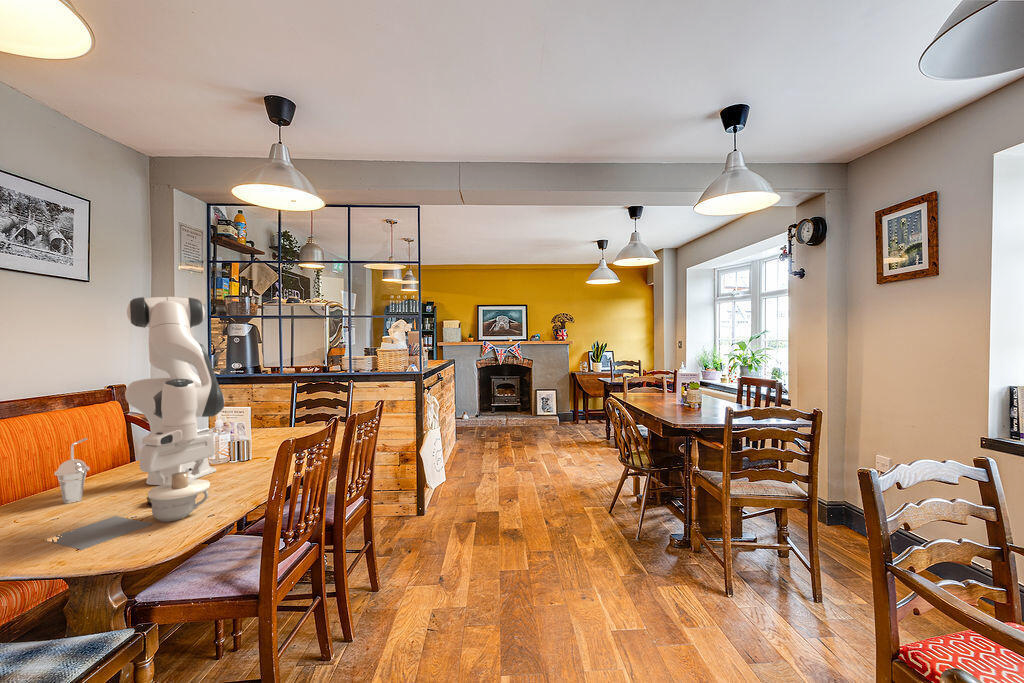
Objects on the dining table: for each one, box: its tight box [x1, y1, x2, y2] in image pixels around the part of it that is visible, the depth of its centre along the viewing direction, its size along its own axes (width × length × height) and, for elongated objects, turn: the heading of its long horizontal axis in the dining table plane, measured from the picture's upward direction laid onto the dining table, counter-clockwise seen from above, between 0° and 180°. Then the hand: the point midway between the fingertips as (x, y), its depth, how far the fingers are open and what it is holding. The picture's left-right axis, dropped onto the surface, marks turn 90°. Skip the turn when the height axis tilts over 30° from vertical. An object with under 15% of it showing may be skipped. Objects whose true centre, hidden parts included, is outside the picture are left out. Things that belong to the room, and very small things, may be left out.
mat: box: [45, 515, 154, 551], centre depth 126 cm, size 17×17×1 cm
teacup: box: [151, 490, 209, 523], centre depth 136 cm, size 14×11×8 cm
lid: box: [147, 472, 211, 500], centre depth 136 cm, size 15×15×5 cm
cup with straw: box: [54, 437, 90, 504], centre depth 150 cm, size 8×9×20 cm
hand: (180, 479), depth 136 cm, fingers open, 8 cm apart
